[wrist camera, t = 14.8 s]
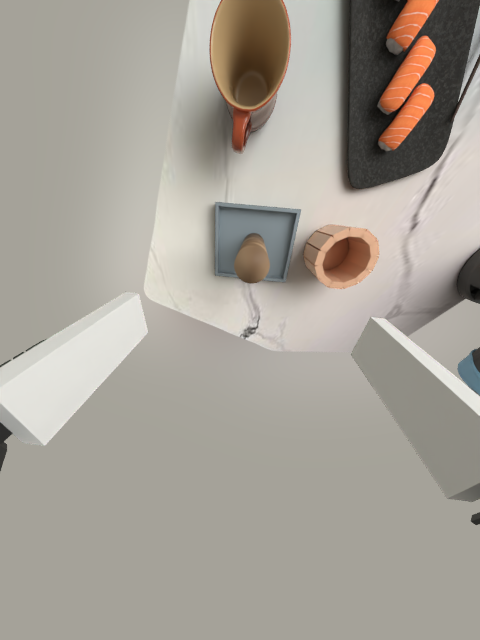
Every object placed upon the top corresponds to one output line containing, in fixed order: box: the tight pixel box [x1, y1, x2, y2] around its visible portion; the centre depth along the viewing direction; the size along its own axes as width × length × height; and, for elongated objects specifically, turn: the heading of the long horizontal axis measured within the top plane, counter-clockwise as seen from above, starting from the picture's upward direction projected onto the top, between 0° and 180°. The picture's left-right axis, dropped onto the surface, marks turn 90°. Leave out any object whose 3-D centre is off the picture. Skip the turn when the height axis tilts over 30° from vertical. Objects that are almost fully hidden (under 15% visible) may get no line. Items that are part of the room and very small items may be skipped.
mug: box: [210, 0, 291, 154], centre depth 24 cm, size 12×9×10 cm
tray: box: [215, 202, 301, 282], centre depth 38 cm, size 16×14×2 cm
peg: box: [234, 233, 270, 283], centre depth 30 cm, size 4×4×18 cm
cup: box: [303, 224, 379, 289], centre depth 34 cm, size 10×10×9 cm
